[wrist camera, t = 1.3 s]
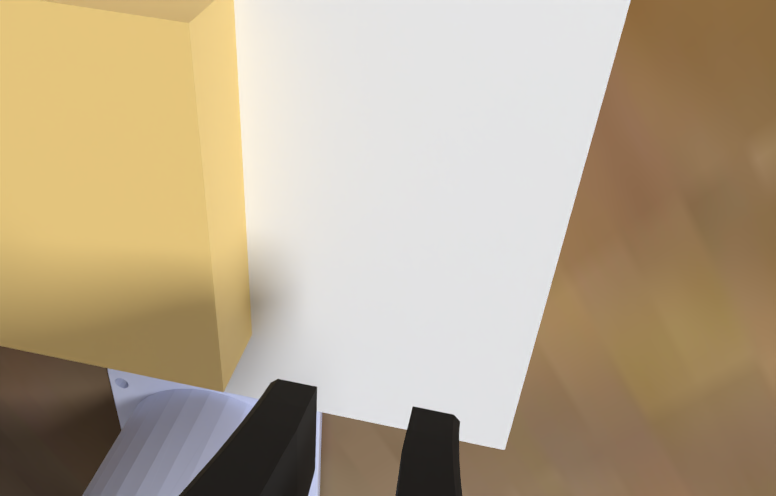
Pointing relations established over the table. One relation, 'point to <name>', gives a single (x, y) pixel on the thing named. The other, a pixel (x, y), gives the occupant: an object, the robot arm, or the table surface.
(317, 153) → the white box
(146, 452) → the robot arm
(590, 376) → the table surface
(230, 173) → the yellow rectangular block
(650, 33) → the table surface
